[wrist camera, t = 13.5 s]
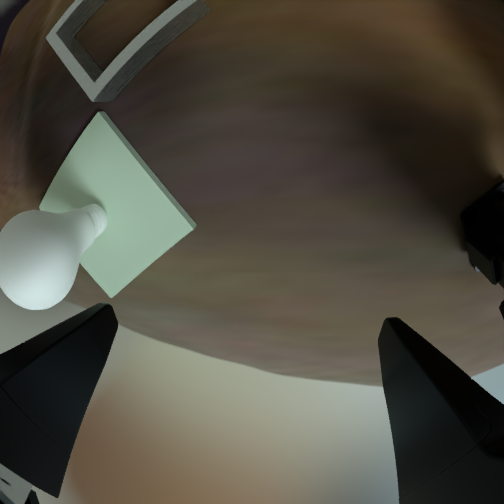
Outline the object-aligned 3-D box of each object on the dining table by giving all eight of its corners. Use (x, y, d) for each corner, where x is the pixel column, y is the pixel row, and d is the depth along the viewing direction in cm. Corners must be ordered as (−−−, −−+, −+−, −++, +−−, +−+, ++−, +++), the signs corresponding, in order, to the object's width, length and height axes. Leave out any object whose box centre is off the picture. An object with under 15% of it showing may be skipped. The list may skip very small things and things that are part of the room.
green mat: (104, 111, 16) (98, 111, 16) (197, 225, 20) (193, 229, 19) (44, 204, 21) (38, 207, 20) (115, 293, 24) (111, 298, 23)
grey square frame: (143, -40, 10) (129, -51, 7) (211, 10, 13) (200, -3, 10) (63, 40, 13) (45, 37, 11) (111, 102, 16) (92, 101, 14)
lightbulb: (67, 188, 19) (-31, 242, 9) (119, 170, 18) (2, 225, 8) (88, 252, 21) (8, 325, 12) (140, 244, 20) (53, 335, 11)
